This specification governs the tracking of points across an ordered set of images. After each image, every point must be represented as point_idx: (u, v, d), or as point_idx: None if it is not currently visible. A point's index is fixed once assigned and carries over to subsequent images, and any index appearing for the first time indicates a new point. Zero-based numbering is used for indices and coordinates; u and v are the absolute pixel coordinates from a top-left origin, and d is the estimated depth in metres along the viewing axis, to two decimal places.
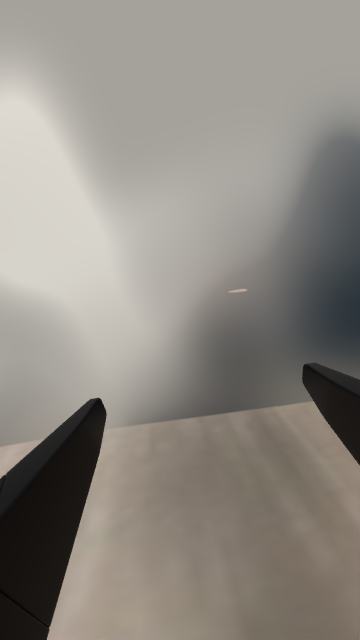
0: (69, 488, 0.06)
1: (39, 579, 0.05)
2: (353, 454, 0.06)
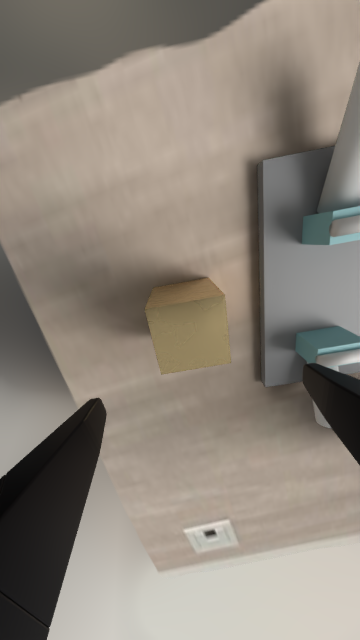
0: (69, 488, 0.06)
1: (39, 579, 0.05)
2: (353, 454, 0.06)
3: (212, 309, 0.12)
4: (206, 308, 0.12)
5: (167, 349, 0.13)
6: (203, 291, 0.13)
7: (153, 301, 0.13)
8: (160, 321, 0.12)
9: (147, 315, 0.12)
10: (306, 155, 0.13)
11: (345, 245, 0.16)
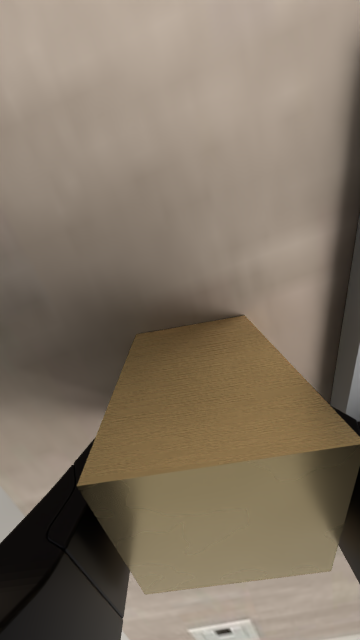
0: None
1: (112, 569, 0.05)
2: None
3: (310, 479, 0.04)
4: (292, 477, 0.04)
5: (160, 558, 0.05)
6: (260, 386, 0.05)
7: (120, 416, 0.05)
8: (135, 509, 0.04)
9: (89, 500, 0.04)
10: None
11: None
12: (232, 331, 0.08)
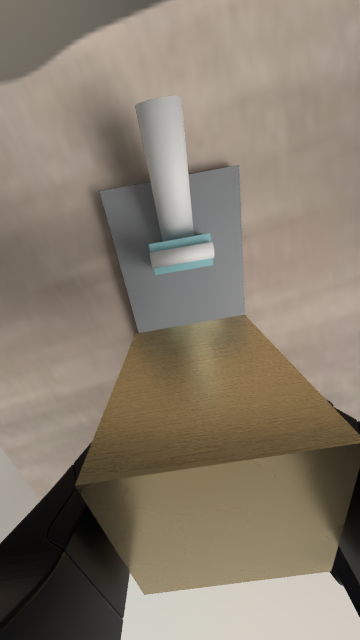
0: None
1: (112, 569, 0.05)
2: None
3: (310, 478, 0.04)
4: (292, 477, 0.04)
5: (160, 558, 0.05)
6: (260, 385, 0.05)
7: (119, 416, 0.05)
8: (134, 509, 0.04)
9: (88, 499, 0.04)
10: (141, 187, 0.14)
11: (201, 270, 0.16)
12: (232, 330, 0.08)
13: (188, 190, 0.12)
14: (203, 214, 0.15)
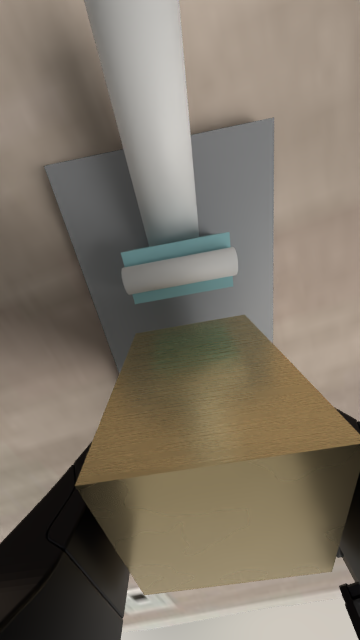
0: None
1: (112, 568, 0.05)
2: None
3: (311, 478, 0.04)
4: (293, 477, 0.04)
5: (160, 558, 0.05)
6: (261, 385, 0.05)
7: (119, 416, 0.05)
8: (133, 510, 0.04)
9: (88, 499, 0.04)
10: (111, 158, 0.09)
11: None
12: (232, 330, 0.08)
13: (190, 155, 0.07)
14: (213, 203, 0.09)
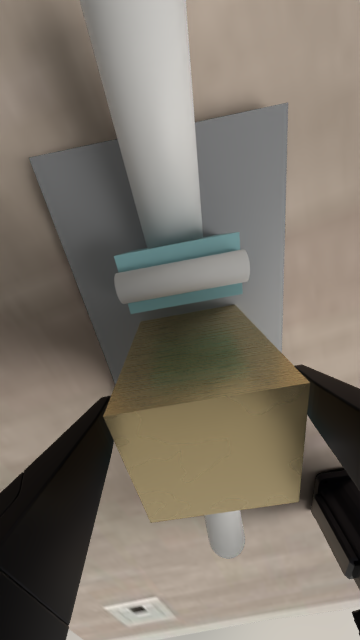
0: (85, 486, 0.06)
1: (58, 576, 0.05)
2: (337, 456, 0.06)
3: (273, 413, 0.05)
4: (259, 411, 0.05)
5: (163, 485, 0.06)
6: (241, 353, 0.06)
7: (131, 376, 0.06)
8: (144, 438, 0.05)
9: (112, 428, 0.05)
10: (105, 149, 0.08)
11: None
12: (223, 316, 0.09)
13: (193, 143, 0.06)
14: (219, 199, 0.08)
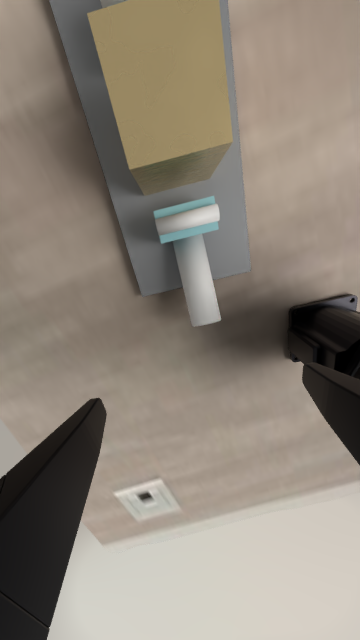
0: (69, 488, 0.06)
1: (39, 578, 0.05)
2: (353, 454, 0.06)
3: (197, 12, 0.08)
4: (188, 8, 0.07)
5: (133, 112, 0.09)
6: None
7: None
8: (115, 44, 0.08)
9: (93, 29, 0.08)
10: None
11: None
12: None
13: None
14: None
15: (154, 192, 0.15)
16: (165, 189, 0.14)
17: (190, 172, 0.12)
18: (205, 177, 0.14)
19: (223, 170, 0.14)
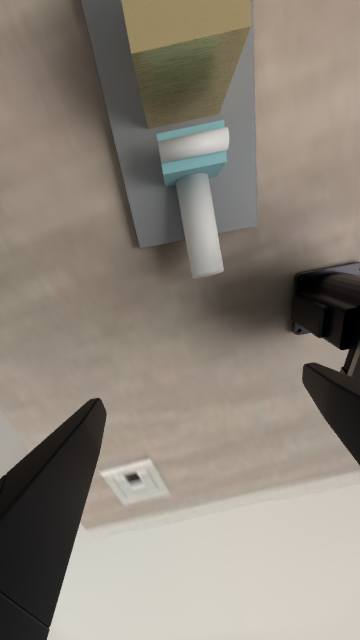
0: (69, 488, 0.06)
1: (39, 578, 0.05)
2: (353, 454, 0.06)
3: None
4: None
5: None
6: None
7: None
8: None
9: None
10: None
11: None
12: None
13: None
14: None
15: (158, 124, 0.13)
16: (170, 121, 0.13)
17: (199, 89, 0.11)
18: (215, 108, 0.13)
19: (235, 105, 0.13)
